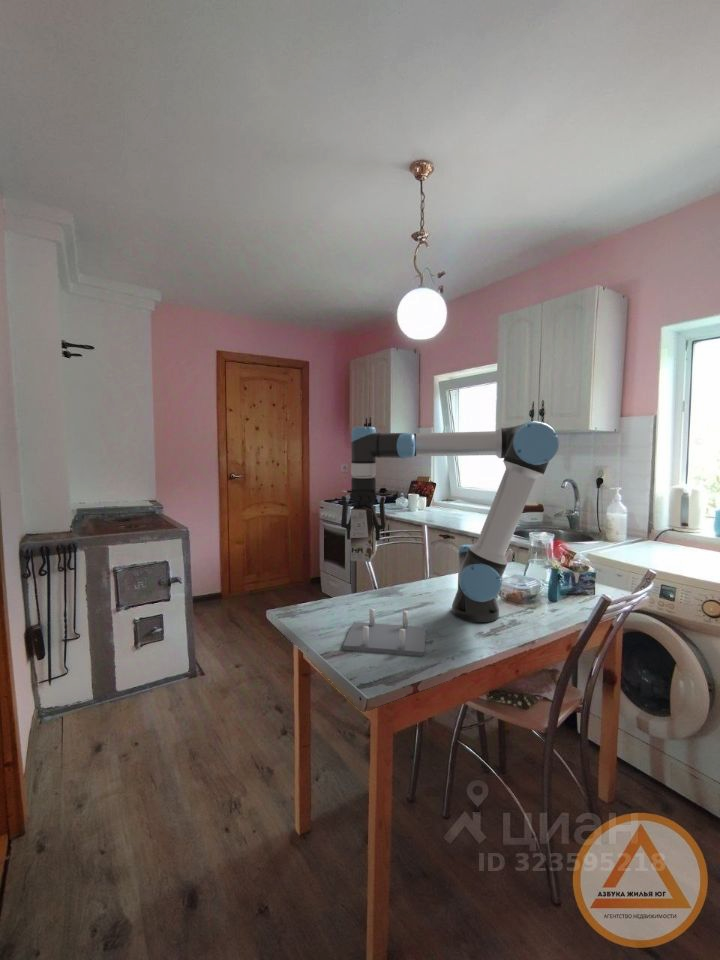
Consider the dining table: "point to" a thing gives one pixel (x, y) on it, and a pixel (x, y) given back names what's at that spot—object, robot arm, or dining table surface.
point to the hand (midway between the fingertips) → (363, 550)
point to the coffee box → (362, 534)
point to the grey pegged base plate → (386, 637)
